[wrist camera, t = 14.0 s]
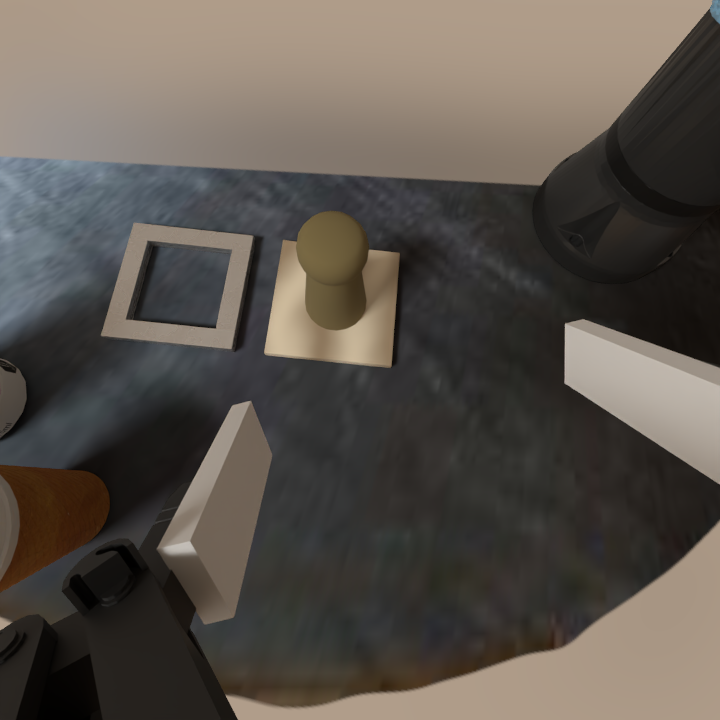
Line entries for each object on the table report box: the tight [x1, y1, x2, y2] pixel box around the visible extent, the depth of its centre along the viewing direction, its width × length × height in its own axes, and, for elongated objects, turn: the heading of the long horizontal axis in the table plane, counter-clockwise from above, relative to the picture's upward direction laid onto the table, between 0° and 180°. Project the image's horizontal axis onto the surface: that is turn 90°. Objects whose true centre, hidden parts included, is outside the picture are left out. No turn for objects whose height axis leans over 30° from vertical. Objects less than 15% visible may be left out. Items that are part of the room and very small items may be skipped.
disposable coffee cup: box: [0, 465, 110, 592], centre depth 23 cm, size 10×10×12 cm
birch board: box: [264, 240, 400, 368], centre depth 34 cm, size 12×12×1 cm
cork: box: [296, 211, 369, 331], centre depth 28 cm, size 6×6×11 cm
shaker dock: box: [101, 223, 256, 352], centre depth 33 cm, size 12×12×1 cm
